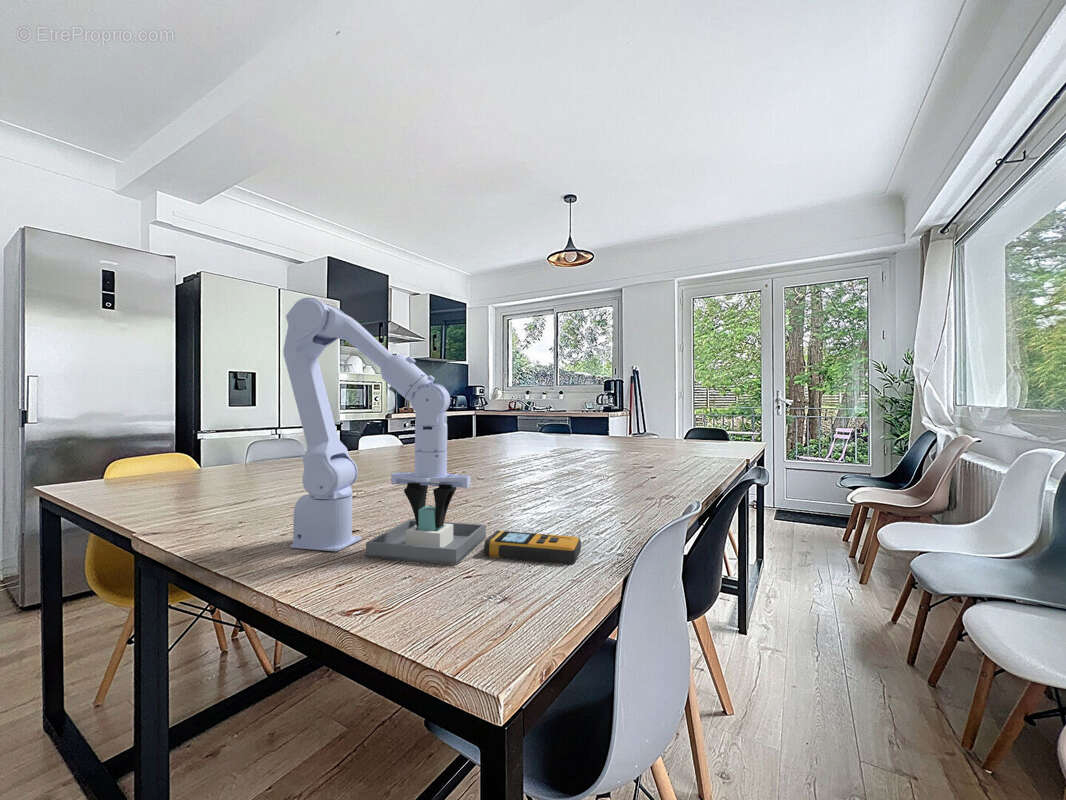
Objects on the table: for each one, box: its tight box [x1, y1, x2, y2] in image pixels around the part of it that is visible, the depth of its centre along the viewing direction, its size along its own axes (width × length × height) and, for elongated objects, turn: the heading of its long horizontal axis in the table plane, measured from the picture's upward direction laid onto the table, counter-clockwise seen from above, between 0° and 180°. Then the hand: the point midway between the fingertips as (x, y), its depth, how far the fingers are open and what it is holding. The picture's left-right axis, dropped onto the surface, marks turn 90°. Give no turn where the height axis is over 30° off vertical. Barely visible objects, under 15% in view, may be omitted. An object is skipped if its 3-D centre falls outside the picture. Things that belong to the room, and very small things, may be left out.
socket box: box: [365, 519, 487, 566], centre depth 88 cm, size 16×16×4 cm
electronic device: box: [483, 530, 582, 565], centre depth 85 cm, size 8×16×3 cm, turn 76°
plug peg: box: [419, 505, 441, 532], centre depth 88 cm, size 3×3×6 cm
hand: (430, 525), depth 88 cm, fingers open, 3 cm apart
